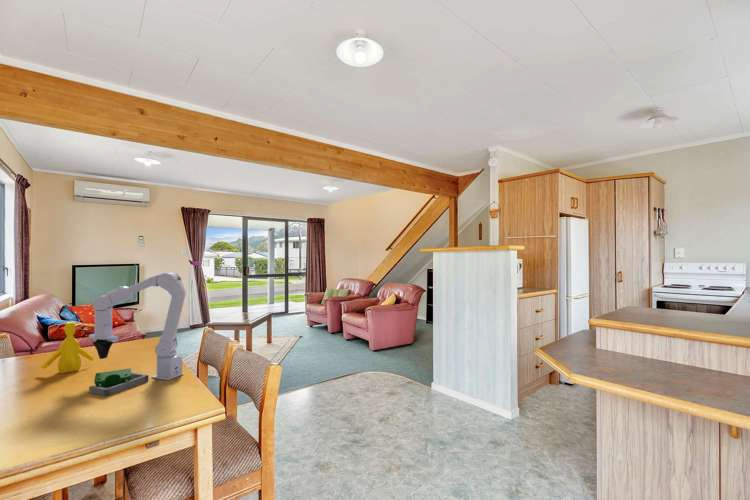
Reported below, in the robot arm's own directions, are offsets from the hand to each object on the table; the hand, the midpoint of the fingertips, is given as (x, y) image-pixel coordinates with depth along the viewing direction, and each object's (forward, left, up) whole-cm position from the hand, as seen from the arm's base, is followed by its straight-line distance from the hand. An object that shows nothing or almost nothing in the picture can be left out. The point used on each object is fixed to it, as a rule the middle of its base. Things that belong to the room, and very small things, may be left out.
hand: (103, 358), depth 142 cm
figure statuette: (+26, -3, -10) cm, 28 cm away
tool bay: (-13, +2, -9) cm, 16 cm away
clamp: (-10, +3, -10) cm, 15 cm away
